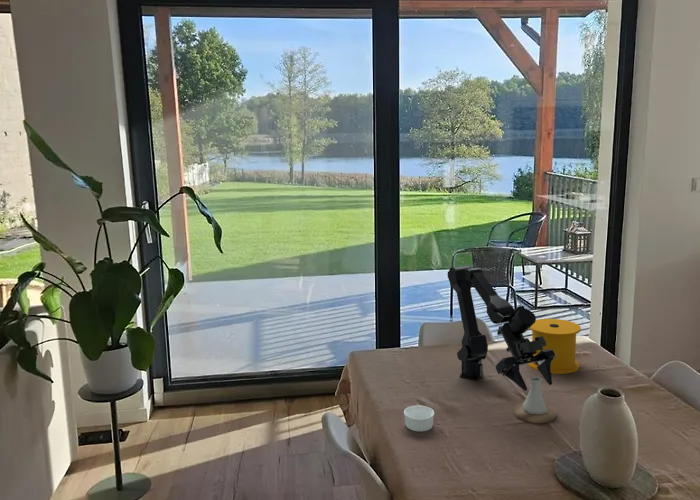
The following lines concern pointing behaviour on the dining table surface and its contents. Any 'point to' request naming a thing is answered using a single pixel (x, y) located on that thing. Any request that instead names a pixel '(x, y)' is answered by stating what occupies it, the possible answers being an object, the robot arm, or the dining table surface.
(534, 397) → the flask
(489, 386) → the dining table surface
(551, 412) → the brass disc
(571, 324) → the spool
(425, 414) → the ramekin
